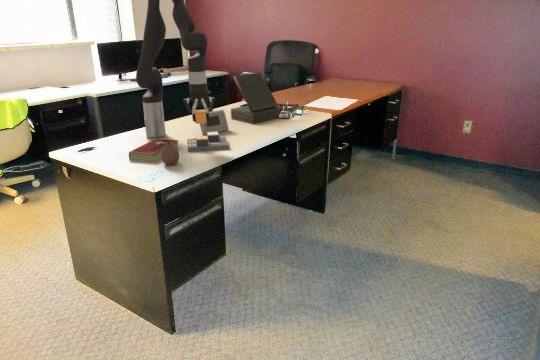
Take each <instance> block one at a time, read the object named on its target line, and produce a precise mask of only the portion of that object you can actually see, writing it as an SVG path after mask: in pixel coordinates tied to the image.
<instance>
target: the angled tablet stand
mask: <svg viewBox="0 0 540 360" xmlns="http://www.w3.org/2000/svg"><path fill="white" fill-rule="evenodd" d="M232 78H233V81H234V83H235V84H236V86H237V87H238V89H239V92H240V93H241V95H242V97H243V99H244V101H245V102H246V103H245V104H246V105H245V106H244V105H243V106H238V107H233V108H230V114H231V115H230V117H231V120H234V121H239V122H242V123H247V124H250V125H251V124H252V125H255V124H261V123H264V122H269V121H273V120H277V119H280V118H279V114H280V112H281V111H282V112H283V107H281V106H279V104H278V102H277V100H276V98H275V97H274V95H273V93H272V91H271V90H270V88H269V85H268V83H267V82H266V80H265V79H264V76H263V74H262V72H260V71H259V72H254V73H253V72H252V73H246V74H245V73H244V74H238V75H234V76H232Z"/></svg>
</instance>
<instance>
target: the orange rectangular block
mask: <svg viewBox="0 0 540 360" xmlns="http://www.w3.org/2000/svg"><path fill="white" fill-rule="evenodd" d="M195 117H196V122H195V124H199V125H200V123H207V122H206V111H205V109H196V110H195Z"/></svg>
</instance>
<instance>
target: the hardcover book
mask: <svg viewBox="0 0 540 360" xmlns="http://www.w3.org/2000/svg"><path fill="white" fill-rule="evenodd" d="M166 143H172V144H173V146H174V147H175V148H176V149H177V150H178V148H179V145H178V143H179V139H167V138H166V139H165V138H153V139H152V140H151V141H148V142H146V143H144V144H142V145H140V146H138V147H137V148H135V149H132V150H130V151H129V152H128V158H129V161H140V162H141V161H142V162H151V163H152V162H153V163H155V162H157V161H158V160H160V159H162V157H161V153H162V150H163V148H164V147H165V145H166Z"/></svg>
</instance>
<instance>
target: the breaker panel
mask: <svg viewBox="0 0 540 360" xmlns="http://www.w3.org/2000/svg"><path fill="white" fill-rule="evenodd" d="M186 144H187V153H194V152H205V151H207V152H208V151H219V150H229V149H230V148H229V145H230V144H229V143H228V139H227V138H226V136H219V141H208V145H202V146H197V143H196V137H193V138H187V139H186Z"/></svg>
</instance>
